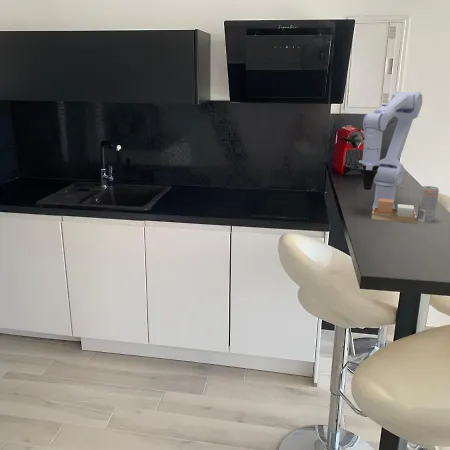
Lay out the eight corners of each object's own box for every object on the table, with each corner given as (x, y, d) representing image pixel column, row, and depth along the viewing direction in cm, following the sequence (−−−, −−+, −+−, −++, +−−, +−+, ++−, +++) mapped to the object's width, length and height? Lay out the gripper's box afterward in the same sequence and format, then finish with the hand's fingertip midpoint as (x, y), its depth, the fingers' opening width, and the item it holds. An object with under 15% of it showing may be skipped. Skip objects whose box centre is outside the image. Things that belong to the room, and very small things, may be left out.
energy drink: (429, 220, 160) (434, 186, 156) (436, 224, 155) (442, 189, 151) (414, 219, 160) (419, 185, 156) (421, 224, 154) (426, 189, 151)
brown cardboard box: (391, 216, 161) (393, 199, 159) (391, 219, 157) (393, 202, 155) (376, 214, 163) (378, 198, 161) (376, 217, 158) (378, 201, 157)
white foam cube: (396, 216, 161) (397, 204, 160) (411, 218, 159) (413, 205, 158) (396, 220, 156) (397, 207, 155) (412, 221, 155) (414, 208, 153)
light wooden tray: (372, 214, 165) (373, 206, 165) (414, 218, 161) (415, 210, 160) (371, 220, 157) (372, 212, 156) (415, 225, 153) (416, 216, 152)
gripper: (361, 146, 166) (357, 183, 170) (358, 150, 153) (354, 190, 157) (382, 147, 164) (377, 184, 168) (380, 151, 151) (376, 192, 154)
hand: (367, 187), depth 162 cm, fingers open, 7 cm apart
